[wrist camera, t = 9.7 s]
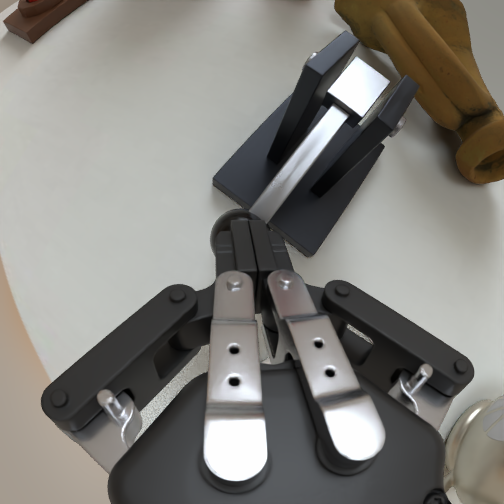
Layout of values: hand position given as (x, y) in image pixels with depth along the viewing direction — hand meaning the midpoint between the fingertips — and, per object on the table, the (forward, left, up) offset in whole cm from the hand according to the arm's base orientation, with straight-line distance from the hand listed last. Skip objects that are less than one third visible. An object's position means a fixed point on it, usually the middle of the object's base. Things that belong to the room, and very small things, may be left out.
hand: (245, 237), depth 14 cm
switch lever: (+5, 0, -2) cm, 6 cm away
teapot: (-2, -31, -8) cm, 32 cm away
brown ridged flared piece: (+27, -4, -8) cm, 29 cm away
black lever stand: (+9, 0, -8) cm, 13 cm away
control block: (+10, +39, -8) cm, 41 cm away
